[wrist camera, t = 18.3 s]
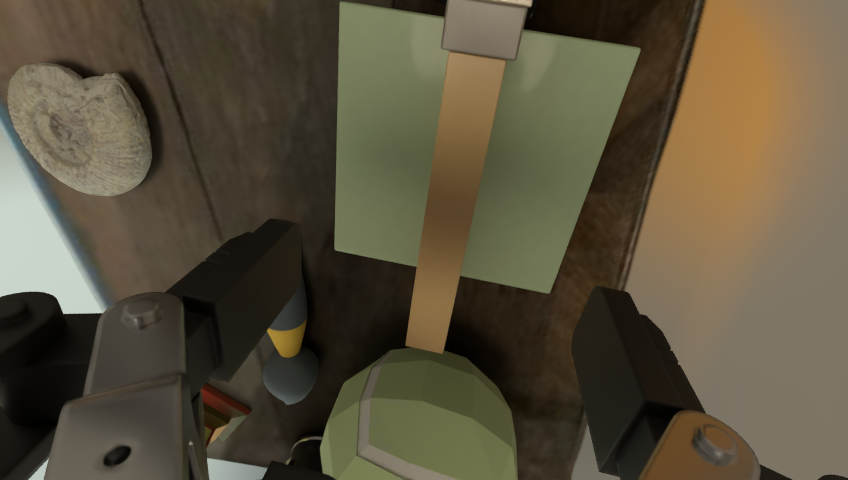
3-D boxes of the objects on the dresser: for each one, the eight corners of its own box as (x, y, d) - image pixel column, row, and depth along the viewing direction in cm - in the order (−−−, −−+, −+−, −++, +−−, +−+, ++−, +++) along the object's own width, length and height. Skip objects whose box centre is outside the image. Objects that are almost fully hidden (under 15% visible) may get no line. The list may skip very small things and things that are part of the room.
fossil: (59, 38, 24) (170, 182, 29) (106, 29, 27) (199, 161, 32) (-54, 96, 27) (64, 217, 32) (-1, 82, 30) (99, 194, 35)
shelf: (535, 220, 29) (549, 294, 21) (376, 189, 30) (333, 250, 22) (592, 37, 23) (642, 48, 15) (390, 6, 24) (338, 0, 16)
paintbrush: (241, 216, 33) (203, 246, 29) (297, 218, 32) (267, 250, 28) (289, 381, 43) (265, 423, 38) (332, 386, 42) (314, 429, 37)
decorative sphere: (377, 290, 34) (304, 454, 22) (539, 345, 35) (564, 541, 22) (345, 395, 42) (278, 562, 29) (478, 440, 42) (470, 627, 29)
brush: (455, 317, 23) (450, 355, 20) (408, 308, 23) (397, 344, 21) (557, -131, 13) (572, -167, 10) (473, -141, 13) (467, -180, 11)
